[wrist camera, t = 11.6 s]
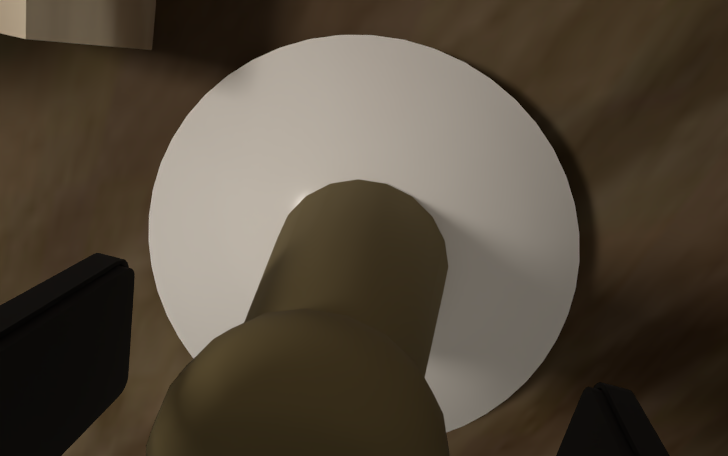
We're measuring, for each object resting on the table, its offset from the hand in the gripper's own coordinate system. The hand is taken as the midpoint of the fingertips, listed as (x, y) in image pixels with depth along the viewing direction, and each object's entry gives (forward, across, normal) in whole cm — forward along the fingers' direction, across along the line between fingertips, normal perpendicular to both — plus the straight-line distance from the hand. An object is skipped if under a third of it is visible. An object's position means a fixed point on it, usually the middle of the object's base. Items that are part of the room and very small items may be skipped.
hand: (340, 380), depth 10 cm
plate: (+9, +1, +1) cm, 9 cm away
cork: (+8, +1, +1) cm, 8 cm away
